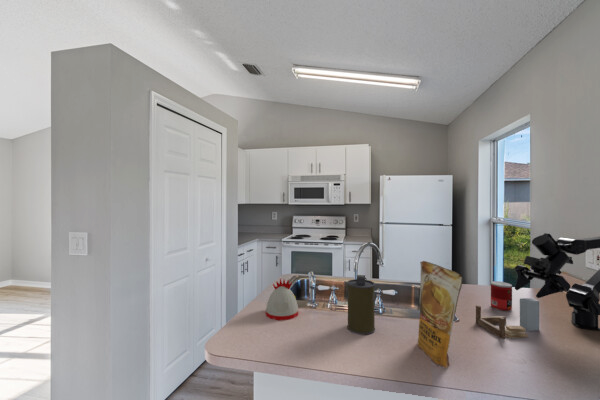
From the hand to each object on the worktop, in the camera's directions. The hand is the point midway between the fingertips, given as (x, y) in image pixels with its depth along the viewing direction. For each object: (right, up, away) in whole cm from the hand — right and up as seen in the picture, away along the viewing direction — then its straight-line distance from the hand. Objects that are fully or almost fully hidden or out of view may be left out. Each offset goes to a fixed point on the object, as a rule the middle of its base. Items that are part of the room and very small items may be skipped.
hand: (525, 293), depth 110 cm
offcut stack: (-8, -13, -6) cm, 17 cm away
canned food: (+6, -14, +22) cm, 26 cm away
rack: (-8, -13, -1) cm, 16 cm away
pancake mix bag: (-43, -14, -18) cm, 49 cm away
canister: (-63, -14, 0) cm, 64 cm away
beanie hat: (-94, -14, +14) cm, 96 cm away
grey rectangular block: (+1, -14, 0) cm, 14 cm away
